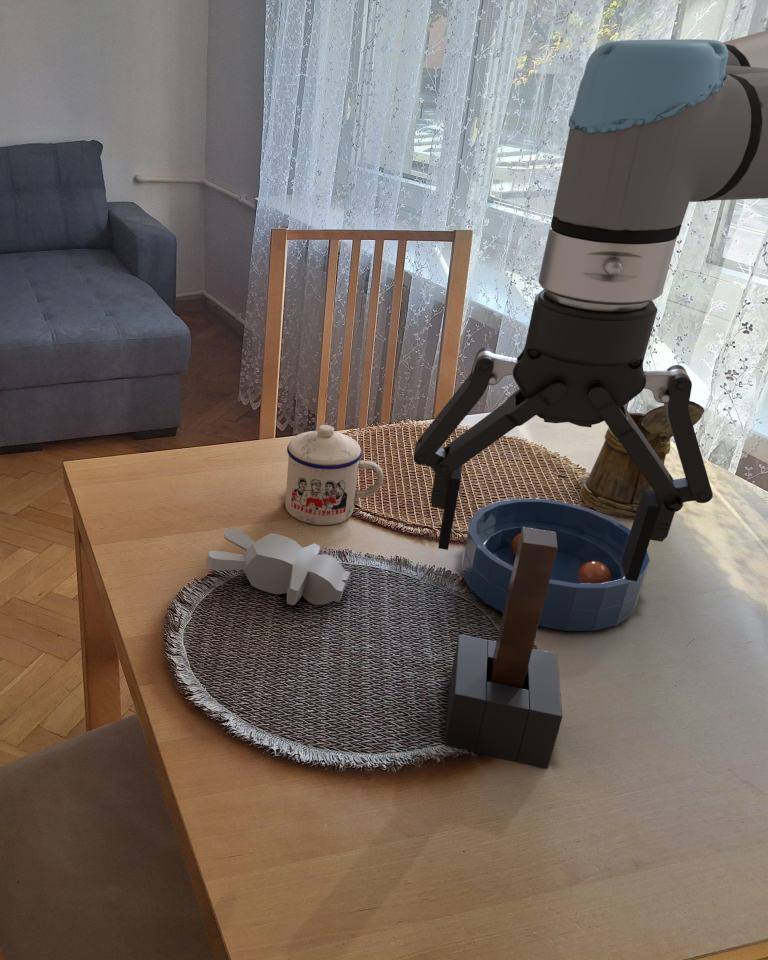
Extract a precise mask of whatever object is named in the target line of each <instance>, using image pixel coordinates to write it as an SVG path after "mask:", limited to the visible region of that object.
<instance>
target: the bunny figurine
mask: <svg viewBox="0 0 768 960" xmlns="http://www.w3.org/2000/svg"><path fill="white" fill-rule="evenodd" d="M223 537H224V539H225V540H226V541H227V542H229V543H231V544H232V545H235V546H237V547H238V548H240V549H241V550H244V552H242V553H237V552H230V551H223V550H211V551H209V552H208V553H207V557H206V561H205V566H206V568H208V569H209V570H212V571H243V572H244V574H245V576H246V579H247V580H248V581H249V584H250V586H252V587H254V588H256V589H258V590H260V591H263V592H266V593H269V594H274V595H282V594H286V604H287V605H291V606H295V605H296V604H297V603H298V601H300V599H301V598H302V597H303V598H304V599H305V600H306V601H307V603H309V604H312V605H315V606H324V605H326V604H327V605H328V604H329V603H332V602H335V603H340V602H341V599H342V597H343V595H344V592H345V590H346V587H347V585H348V584H349V580H350V575H351V571H348V570H346V569H345V568H344V567H343V565H342V564H341V562H340V561H339V560H338V559H336V558H335V557H334V556H333V555H330V554H327V553H323V554H320V552H321V548H322V546H320V545H319V544H317V543H315V542H313V543H311V544H309V545H306V546H302V545H300V544H299V543H298V542H297V541H296V540H294V539H293V538H290V537H289V536H285V535H282V534H278V533H272V532H270V533H268V534H266V535H265V536H263V537H262V538H260V539H258V540H257V541H254V540H253V539H252V538H251V537H249V536H248V535H247V534H246V533H244V532H242V531H241V530H240V529H238V528H237V527H227V528H226V529H224V532H223Z"/></svg>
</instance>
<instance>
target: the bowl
mask: <svg viewBox="0 0 768 960" xmlns="http://www.w3.org/2000/svg"><path fill="white" fill-rule="evenodd" d="M522 527H526V528H533V529H540V530H546V531H553V532H556V537H557V547H558V549H557V553H556V557H555V561H554V565H553V569H552V573H551V577H550V581H549V585H548V589H547V593H546V597H545V601H544V605H543V609H542V613H541V617H540V621H539V625H538V627H543V628H547V629H554V630H559V631H565V632H566V631H571V632H573V631H576V632H578V631H581V632H583V631H585V632H586V631H587V632H588V631H589V632H592V631H598V630H602V629H608V628H612V627H615V626H618V625H619V624H621V623H622V622H624V621H626V620H627V619H628V618H630V617H631V616H632V615H633V612H634V611H635V608H636V606H637V604H638V601H639V598H640V594H641V593H642V588H643V586H644V582H645V580H646V576H647V572H648V569H649V566H650V563H651V559H650V555H649V552H648V550H647V552H646V555H645V558H644V561H643V564H642V567H641V570H640V574H639V577H638V580H637V581H631V580H626V578H625V573H624V568H623V564H622V558H623V555H624V552H625V549H626V545H627V542H628V539H629V535H630V532H631V529H630V528H628V527H627V526H625V525H623V524H622V523H621V522H620V521H618V520H616V519H614V518H612V517H610V516H608V515H606V514H604V513H602V512H600V511H597V510H595V509H591V508H588V507H584V506H581V505H577V504H574V503H570V502H566V501H560V500H554V499H553V500H552V499H547V498H546V499H545V498H538V497H537V498H536V497H535V498H532V497H531V498H510V499H504V500H499V501H494V502H492V503H489V504H487V505H485V506H483V507H481V508H479V509H477V511H476V512H475V513H474V514H473V515H472V517H471V518H470V519H469V521H468V527H467V531H466V537H465V542H464V548H463V552H462V559H461V575H462V578H463V579H464V581H465V583H466V586H467V587H468V588H469V589H470V590H471V591H472V592H473V593H474V594H475V595H476V596H477V597H478V598H479V599H480V600H481V601H482V602H484V603H485V604H487V605H488V606H490V607H492V608H493V609H495V610H497V611H499V612H501V613H502V614H503V611H504V606H505V602H506V597H507V593H508V588H509V584H510V579H511V575H512V570H513V566H514V562H515V557H516V556H515V555H514V554H513V553H512V551H511V541H512V539H513V538H514V537H515V536H516V535H517V534H519V533H521V530H522ZM589 561H598V562H601V563H603V564H605V565H606V566H607V567H608V568H609V570H610V572H611V581H610V582H605V583H580V582H579V580H578V571H579V569H580V567H581V566H582V565H583V564H585V563H586V562H589Z"/></svg>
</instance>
